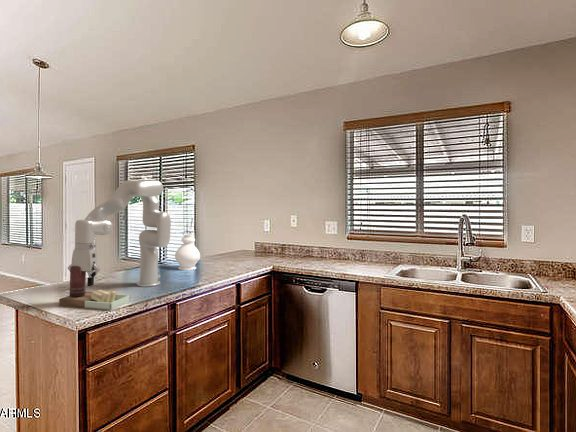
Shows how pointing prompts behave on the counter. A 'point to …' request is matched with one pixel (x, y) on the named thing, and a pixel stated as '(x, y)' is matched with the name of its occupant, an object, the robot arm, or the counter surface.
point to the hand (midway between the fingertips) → (83, 284)
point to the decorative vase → (187, 253)
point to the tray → (117, 302)
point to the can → (77, 282)
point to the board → (76, 300)
